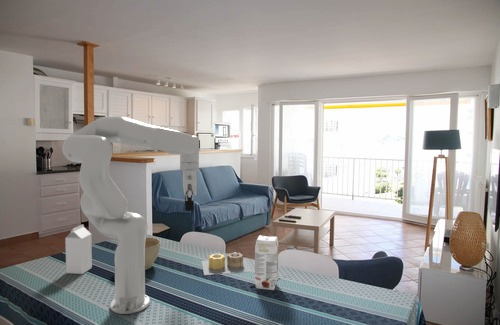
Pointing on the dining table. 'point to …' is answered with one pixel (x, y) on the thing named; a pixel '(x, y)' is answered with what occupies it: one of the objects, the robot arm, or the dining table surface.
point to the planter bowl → (151, 251)
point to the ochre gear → (216, 262)
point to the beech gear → (235, 260)
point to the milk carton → (78, 251)
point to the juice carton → (266, 262)
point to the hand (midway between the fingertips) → (189, 208)
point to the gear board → (226, 269)
